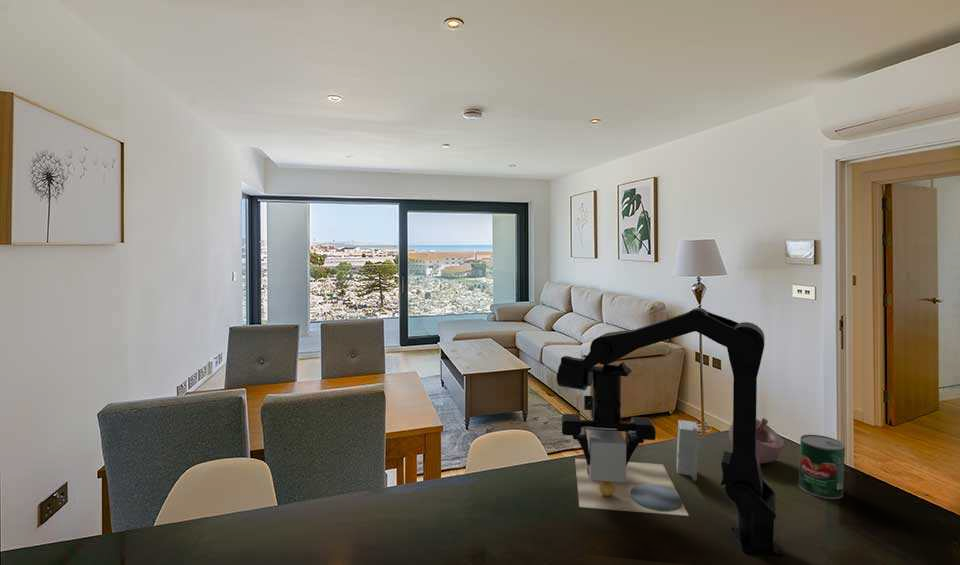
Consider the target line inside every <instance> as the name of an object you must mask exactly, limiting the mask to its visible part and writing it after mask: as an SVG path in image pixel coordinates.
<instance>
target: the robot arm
mask: <svg viewBox="0 0 960 565" xmlns="http://www.w3.org/2000/svg"><path fill="white" fill-rule="evenodd" d="M695 332H696V333H698V334H700V335H703V336H704V337H706V338H707V339H709V340H712V341H714V342H715V343H716V344H720V345H721V346H723V347H726V350H727V353H728V354H727V355H728V358H729V364H730V367H731V371H732V375H733V383H732V384H733V385H732V387H733V395H732V397H733V400H732V401H733V402H732V405H733V406H732V407H733V408H732V413H733V414H732V422H733V447H732V451H731V452H730V451H726V450H724V451H723V454H722V458H721V471H722V476H721V481H720V486H724V489H725V490H724V491H725V493H726V495H727V497H728V499H729V498H730V500H731V501H732V502H734V503H735V506H736V508H737V527H730V528H729V530H730V533H731V535H732V536H733V537H734V540H736V542H737V544H738V546H739V547H740V549H741V550H742V551H743V552H746V553H756V554H766V555H777V556H782V555H784V552H783V550H782V548H781V547H780V546H779V545H778V543H777V542H776V541H775V531H776V530H775V529H776V518H777V502H776V501H777V500H776V492H775V491H774V490H773V489H772V487H771V486H769V485H768V483H766V482H765V480H763V479H764V478H763V472H762V469H761V463H760V462H759V458H758V454H757V450H756V419H757V402H758V400H757V396H758V395H757V394H758V393H757V392H758V391H757V390H758V385H757V383H758V374H759V370H760V366H761V362H762V358H763V353H764V350H765V341H766V338H765V333H764V331H763V329H761V327H759V326H758V325H756V324H754V323H753V322H747V321H745V322H744V321H743V322H742V321H741V322H737V321H734V320H732V319H730V318H726V317H723V316H721V315H717V314H716V313H712V312H710V311H708V310H706V309H704V308H701V307H695V308H692V309H691V310H689V311H687V312H684V313H681V314H677V315H674V316H672V317H669V318H666V319H663V320H660V321H657V322H654V323H651V324H648V325H645V326H641V327H639V328H635V329H630V330H618V331H611V332H607V333H604V334H602V335H600V336H598V337H595V338H594V339H593V340H592V341H591V343H590V347H589V352H588V354H587V355H586V356H585V357H584V358H579V357H573V356H570V355H564V356H562V357H561V358H560V363H559V366H558V369H557V373H556V384H557V385H558V386H559V387H561V388H567V389H573V390H580V391H587V389H588V387H591V386H592V395H583V409H584V410H585V411H591V418H592V419H581V414H579V413H563V414H562V416H561V435H563V436H571V437H572V439H573V440H574V441H575V440H577V441H578V443H579V446H580V448H581V449H582V452H583V455H584V457H585V458H586V461H587V464H588V465H590V456H589V448H588V441H587V434H586V429H587V430H606V431H622V432H624V439H625V442H626V466H627V464H628V462H630V459H631V457H632V455H633V454H634V452H635V450H636V449H637V447H638V446H639V444H644V443H645V441H646V440H647V441H654V440H656V438H657V437H656V434H657V432H656V427H655V425H654V424H653V422H652V420H651V419H650V418H649V417H645V416H643V417H641V416H632V417H631V420H630V421H622V377H629V375H630V374H632V372H633V371H632V369H631V368H629V367H628V366H627V365H626V363H625V361H622V362H621V363H619V364H618V365H616V364H612V363H614V362H616V361H618V360H620V359H622V358H623V357H625V356H627V355H629V354H631V353H632V352H634V351H636V350H639V349H641V348H644V347H648V346H651V345H655V344H657V343H661V342H665V341H667V340H671V339H674V338H678V337H680V336H681V337H682V336H684V335H687V334H688V335H689V334H690V333H695ZM598 364H600V365H602V366H597V365H598ZM585 458H584V459H585Z"/></svg>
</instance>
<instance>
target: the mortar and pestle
mask: <svg viewBox="0 0 960 565" xmlns="http://www.w3.org/2000/svg"><path fill="white" fill-rule="evenodd" d="M768 423H769V421H768V420H767V419H766V418H765V417H762V418H761V420H759V419H757V418H756V450H757V454H758V458H759V462H760V464H767V463H771V462H774V461H775V460H777V459H778V458H779V457H781V455H782V453H783V452H784V449H785V446H786V444H785V441H784V440H783V438H782V437H781V435H779V434H778V432H776V431H774V429H772V428H771V427H770V426H769V425H768ZM728 439H729V443H730V444H731V447H732V448H733V421H732V423H731V424H730V425H729V430H728Z"/></svg>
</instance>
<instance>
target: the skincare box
mask: <svg viewBox="0 0 960 565" xmlns="http://www.w3.org/2000/svg"><path fill="white" fill-rule="evenodd" d="M677 426H678V427H677V442H676V444H677V445H676V460H675V461H676V462H675V464H676V465H675V466H676V472H677V474H679V475H684V476H685V475H686V476H690V478H691V479H692V480H693V481H695V482H696V481H697V479H698V463H699V462H698V461H699V460H698V459H699V444H700V442H699V441H700V431H699V425H698V423H697V421H691V420H679V419H678V420H677Z"/></svg>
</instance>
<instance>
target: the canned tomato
mask: <svg viewBox="0 0 960 565" xmlns="http://www.w3.org/2000/svg"><path fill="white" fill-rule="evenodd" d="M799 439H800V441H799V442H800V443H799V464H798V465H799V466H798V467H799V470H798V485H797V486H798V487H799V488H800V489H801V490H802V491H803V492H805V493H807V494H808V495H812V496H815V497H817V498H821V499H828V500H838V499H842V498H843V497H844V476H845V475H844V474H845V457H846V456H845V455H846V454H845V453H846V445H845V444H844V443H843V442H842V441H841V440H839V439H836V438H833V437H829V436H824V435H820V434H804V435H803V434H802V435H801V436H800V437H799Z"/></svg>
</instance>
